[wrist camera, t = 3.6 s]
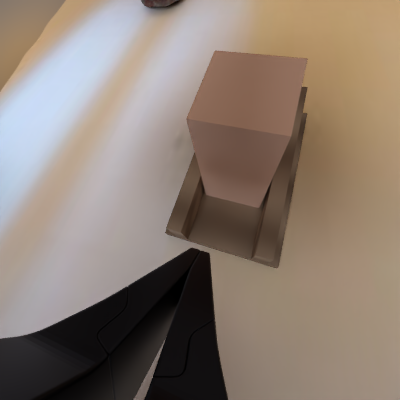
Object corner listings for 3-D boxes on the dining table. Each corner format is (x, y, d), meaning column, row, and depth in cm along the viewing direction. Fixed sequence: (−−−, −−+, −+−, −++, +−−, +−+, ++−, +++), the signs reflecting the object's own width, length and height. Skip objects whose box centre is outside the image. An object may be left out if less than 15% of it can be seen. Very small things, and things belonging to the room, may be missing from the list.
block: (259, 208, 18) (291, 136, 9) (206, 194, 19) (186, 118, 10) (270, 161, 20) (307, 58, 11) (220, 151, 21) (214, 50, 12)
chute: (276, 267, 17) (288, 265, 14) (167, 234, 19) (154, 224, 16) (304, 119, 22) (319, 88, 18) (215, 105, 24) (213, 76, 21)
